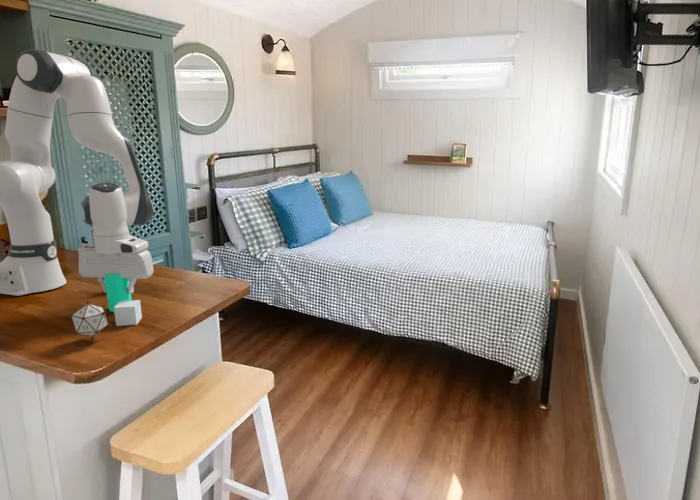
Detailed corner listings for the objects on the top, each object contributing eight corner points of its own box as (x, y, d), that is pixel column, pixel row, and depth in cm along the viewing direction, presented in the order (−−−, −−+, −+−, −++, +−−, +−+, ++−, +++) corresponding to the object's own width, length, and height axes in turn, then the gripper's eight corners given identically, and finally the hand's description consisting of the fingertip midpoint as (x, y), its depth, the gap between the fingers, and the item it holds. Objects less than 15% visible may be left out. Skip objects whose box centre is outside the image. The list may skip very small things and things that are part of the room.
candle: (123, 312, 134) (117, 270, 131) (104, 311, 135) (98, 269, 133) (136, 305, 140) (131, 264, 137) (118, 303, 141) (112, 263, 138)
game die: (63, 346, 114) (56, 305, 111) (87, 331, 122) (82, 293, 119) (98, 348, 112) (92, 307, 110) (120, 333, 120) (115, 294, 118)
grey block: (116, 326, 125) (113, 307, 124) (122, 318, 130) (120, 301, 129) (136, 324, 126) (134, 306, 125) (142, 317, 131) (140, 300, 130)
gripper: (69, 245, 132) (77, 294, 135) (141, 247, 129) (147, 297, 132) (84, 240, 138) (91, 287, 141) (153, 241, 135) (158, 289, 138)
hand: (119, 292), depth 137 cm, fingers closed on candle, 5 cm apart
